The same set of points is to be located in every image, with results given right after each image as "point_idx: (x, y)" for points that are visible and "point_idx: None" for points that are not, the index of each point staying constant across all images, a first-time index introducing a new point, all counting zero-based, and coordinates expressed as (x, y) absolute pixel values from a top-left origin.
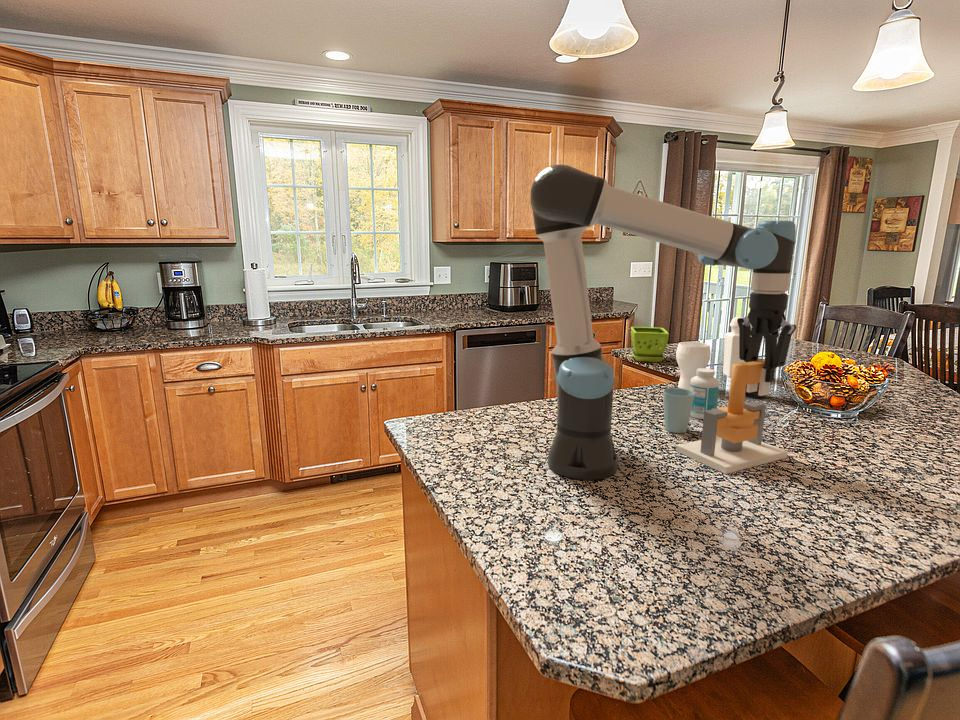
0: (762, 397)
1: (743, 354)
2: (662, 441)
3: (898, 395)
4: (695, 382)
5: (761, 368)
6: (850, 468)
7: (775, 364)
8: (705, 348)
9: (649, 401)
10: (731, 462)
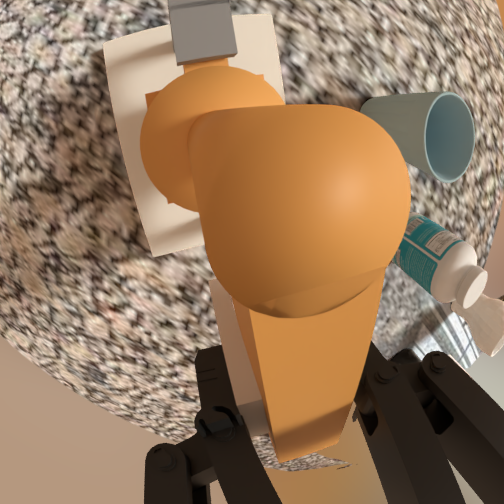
0: None
1: (441, 387)
2: (330, 36)
3: (308, 454)
4: (465, 247)
5: (258, 395)
6: (97, 320)
7: (155, 463)
8: (492, 346)
9: (473, 196)
10: (122, 71)
